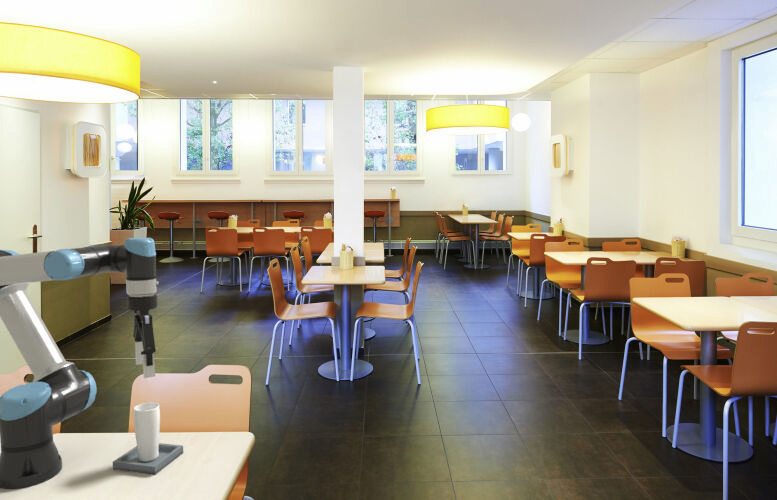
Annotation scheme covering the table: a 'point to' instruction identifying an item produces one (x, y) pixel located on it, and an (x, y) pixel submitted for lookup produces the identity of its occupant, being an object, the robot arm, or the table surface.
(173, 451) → the grey tray
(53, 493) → the table surface
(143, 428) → the white cup
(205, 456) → the table surface
